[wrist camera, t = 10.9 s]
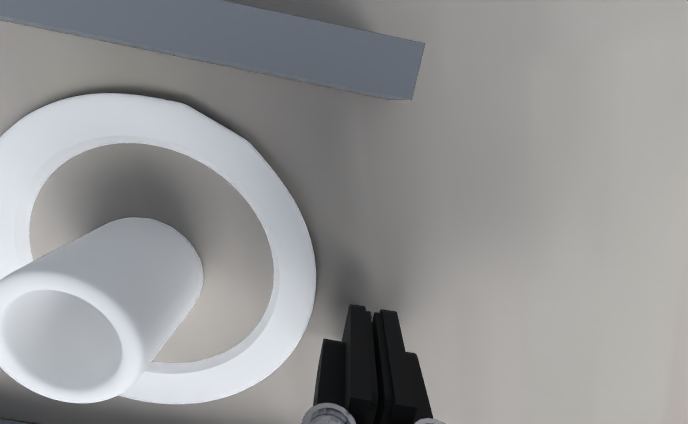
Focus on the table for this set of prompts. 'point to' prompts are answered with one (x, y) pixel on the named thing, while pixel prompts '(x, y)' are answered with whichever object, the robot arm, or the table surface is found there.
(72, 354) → the candle holder
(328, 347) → the robot arm
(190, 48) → the box
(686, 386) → the table surface
